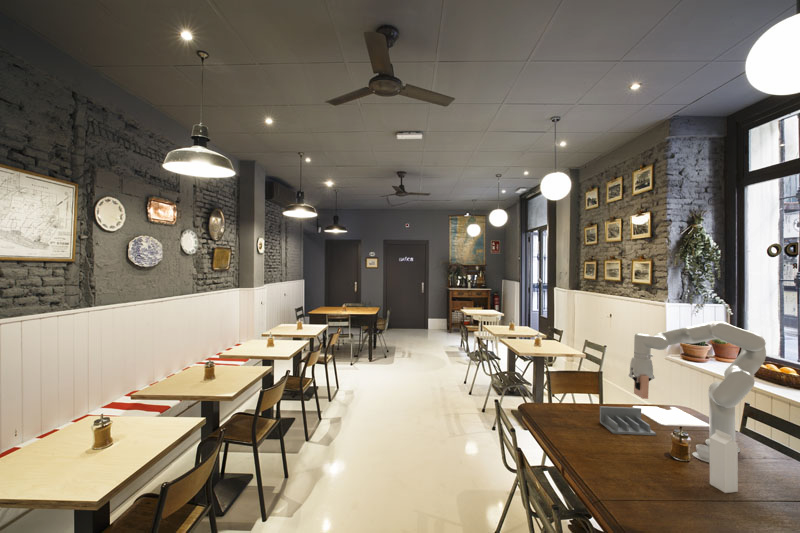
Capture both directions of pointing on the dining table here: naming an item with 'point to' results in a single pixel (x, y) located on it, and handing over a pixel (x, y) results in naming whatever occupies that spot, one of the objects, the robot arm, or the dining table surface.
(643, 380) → the plate block
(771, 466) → the dining table surface
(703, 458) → the teacup
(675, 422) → the tray
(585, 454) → the dining table surface
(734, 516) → the dining table surface
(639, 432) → the dish rack
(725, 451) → the milk
